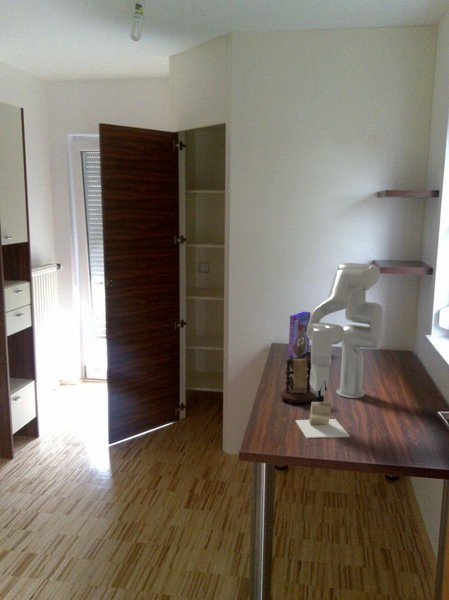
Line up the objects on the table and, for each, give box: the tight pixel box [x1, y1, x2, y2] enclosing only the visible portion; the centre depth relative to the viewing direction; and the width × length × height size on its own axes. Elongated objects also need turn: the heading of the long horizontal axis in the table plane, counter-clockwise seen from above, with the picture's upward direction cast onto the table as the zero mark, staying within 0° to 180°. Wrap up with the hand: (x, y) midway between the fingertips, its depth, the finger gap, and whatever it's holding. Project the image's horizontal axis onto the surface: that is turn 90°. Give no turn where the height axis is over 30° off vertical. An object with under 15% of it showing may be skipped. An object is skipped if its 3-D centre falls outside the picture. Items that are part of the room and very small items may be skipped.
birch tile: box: [308, 401, 332, 425], centre depth 200 cm, size 3×7×9 cm, turn 96°
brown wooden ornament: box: [280, 354, 316, 405], centre depth 228 cm, size 15×15×20 cm
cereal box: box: [288, 311, 312, 359], centre depth 303 cm, size 17×5×24 cm, turn 147°
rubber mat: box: [295, 418, 350, 439], centre depth 198 cm, size 16×16×1 cm
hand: (318, 406), depth 202 cm, fingers closed
